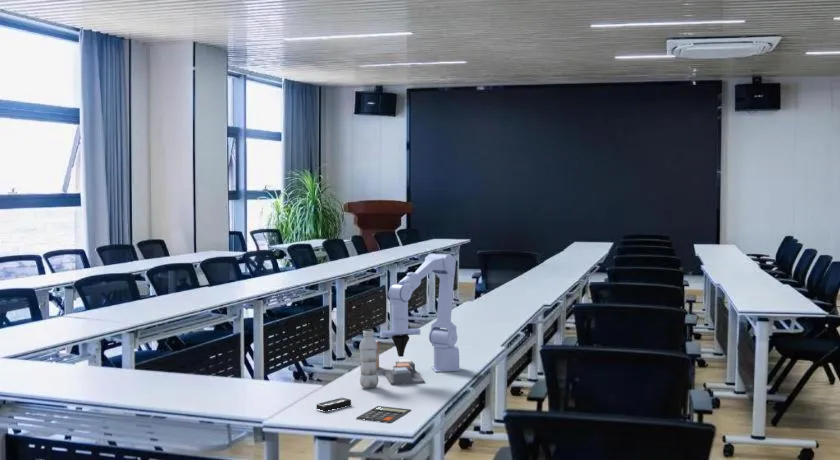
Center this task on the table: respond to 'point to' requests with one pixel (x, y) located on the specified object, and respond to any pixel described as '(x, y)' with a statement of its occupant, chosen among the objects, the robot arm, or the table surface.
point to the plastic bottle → (368, 360)
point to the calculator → (384, 414)
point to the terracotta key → (403, 365)
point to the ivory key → (405, 361)
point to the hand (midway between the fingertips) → (400, 356)
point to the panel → (404, 376)
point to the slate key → (400, 370)
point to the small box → (377, 355)
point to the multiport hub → (334, 404)
